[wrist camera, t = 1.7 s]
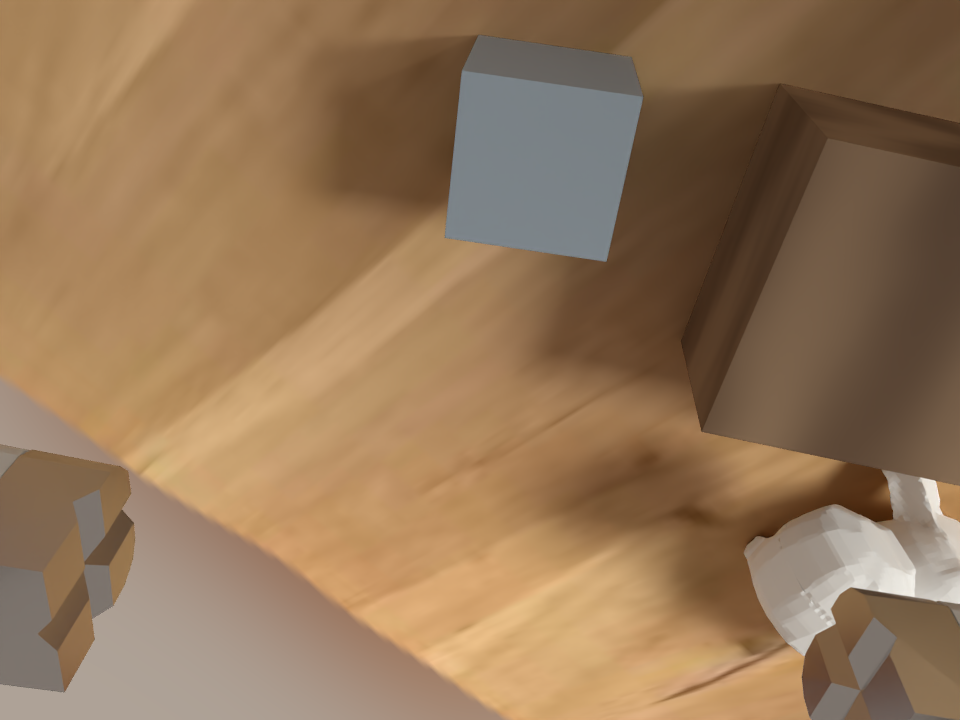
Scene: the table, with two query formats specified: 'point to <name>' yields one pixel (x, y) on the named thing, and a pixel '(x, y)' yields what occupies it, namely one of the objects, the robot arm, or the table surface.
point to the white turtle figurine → (855, 559)
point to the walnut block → (838, 291)
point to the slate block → (541, 147)
